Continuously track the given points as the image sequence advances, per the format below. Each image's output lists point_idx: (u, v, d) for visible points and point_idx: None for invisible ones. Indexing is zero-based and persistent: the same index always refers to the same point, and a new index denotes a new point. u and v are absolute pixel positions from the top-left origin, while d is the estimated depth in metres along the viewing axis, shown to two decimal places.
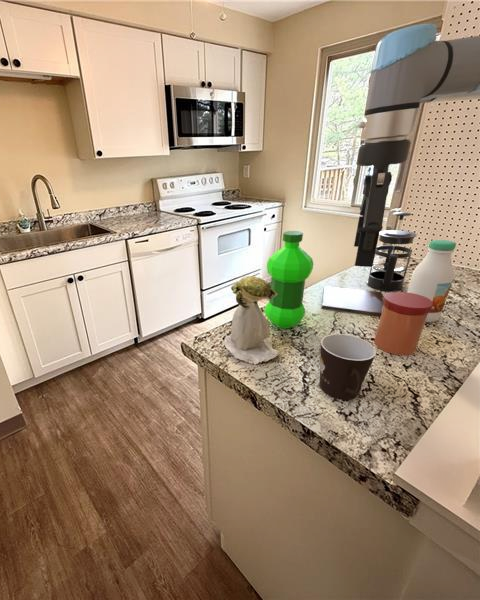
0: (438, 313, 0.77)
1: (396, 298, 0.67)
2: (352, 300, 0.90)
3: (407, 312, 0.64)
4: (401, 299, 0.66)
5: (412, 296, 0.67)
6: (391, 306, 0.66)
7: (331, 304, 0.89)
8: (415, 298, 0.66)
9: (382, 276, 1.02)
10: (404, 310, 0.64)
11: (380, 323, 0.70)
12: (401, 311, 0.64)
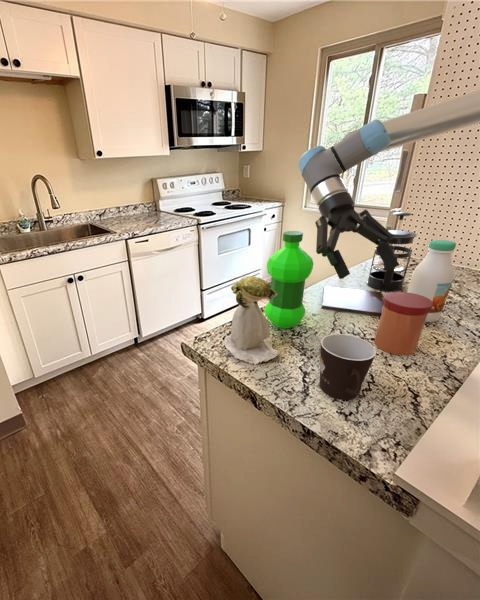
0: (438, 313, 0.77)
1: (396, 298, 0.67)
2: (352, 300, 0.90)
3: (407, 312, 0.64)
4: (401, 299, 0.66)
5: (412, 296, 0.67)
6: (391, 306, 0.66)
7: (331, 304, 0.89)
8: (415, 298, 0.66)
9: (382, 276, 1.02)
10: (404, 310, 0.64)
11: (380, 323, 0.70)
12: (401, 311, 0.64)
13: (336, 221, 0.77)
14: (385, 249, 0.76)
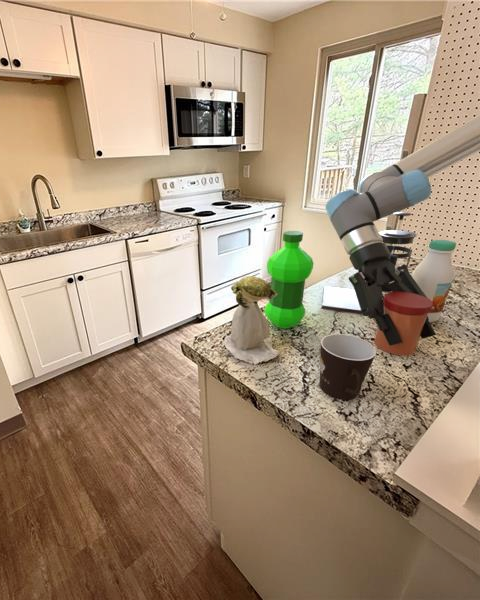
0: (438, 313, 0.77)
1: (396, 298, 0.67)
2: (352, 300, 0.90)
3: (407, 312, 0.64)
4: (401, 299, 0.66)
5: (412, 296, 0.67)
6: (391, 306, 0.66)
7: (331, 304, 0.89)
8: (415, 298, 0.66)
9: None
10: (404, 310, 0.64)
11: None
12: (401, 311, 0.64)
13: (370, 275, 0.71)
14: None
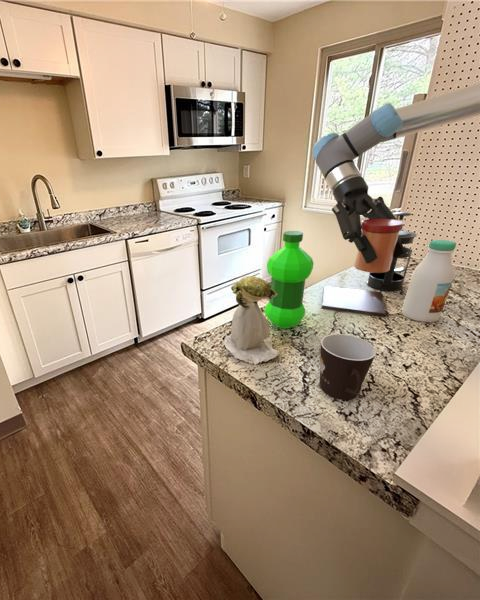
0: (438, 313, 0.77)
1: (372, 222, 0.77)
2: (352, 300, 0.90)
3: (381, 230, 0.73)
4: (376, 222, 0.76)
5: (386, 220, 0.77)
6: (367, 227, 0.75)
7: (331, 304, 0.89)
8: (388, 221, 0.76)
9: (382, 276, 1.02)
10: (378, 229, 0.73)
11: None
12: (376, 230, 0.74)
13: (350, 204, 0.80)
14: None
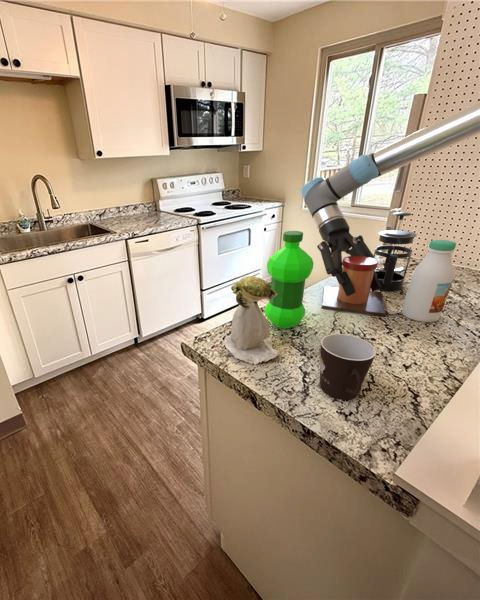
0: (438, 313, 0.77)
1: (351, 259, 0.87)
2: None
3: (358, 268, 0.84)
4: (355, 260, 0.87)
5: (364, 258, 0.87)
6: (347, 265, 0.86)
7: (331, 304, 0.89)
8: (366, 259, 0.87)
9: (382, 276, 1.02)
10: (356, 267, 0.84)
11: None
12: (354, 268, 0.85)
13: (333, 243, 0.91)
14: None
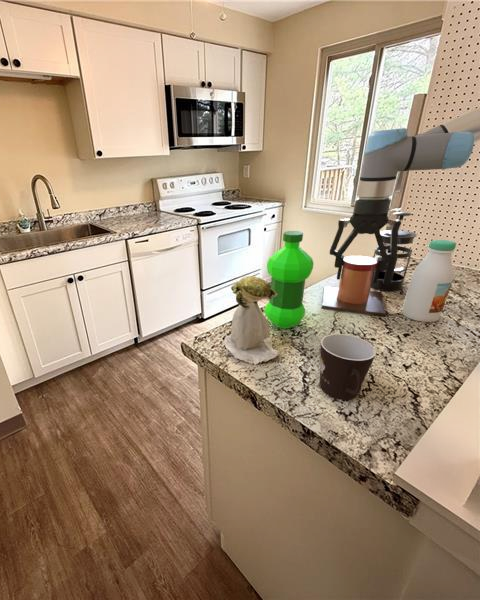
0: (438, 313, 0.77)
1: (351, 259, 0.87)
2: None
3: (358, 268, 0.84)
4: (355, 260, 0.87)
5: (364, 258, 0.87)
6: (347, 265, 0.86)
7: (331, 304, 0.89)
8: (366, 259, 0.87)
9: (382, 276, 1.02)
10: (356, 267, 0.84)
11: (340, 280, 0.90)
12: (354, 268, 0.85)
13: (353, 225, 0.83)
14: None
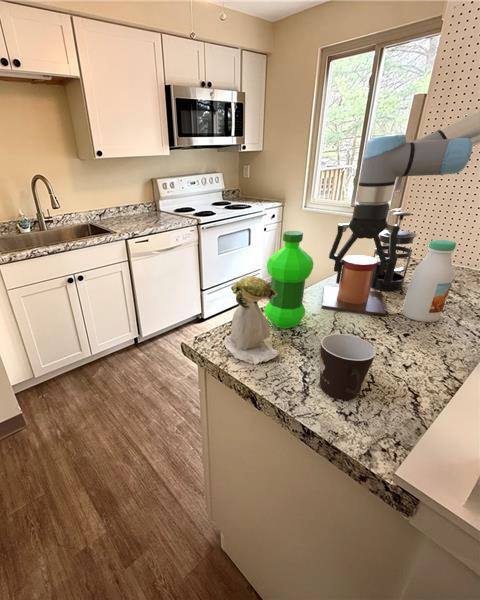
0: (438, 313, 0.77)
1: (365, 261, 0.85)
2: None
3: None
4: (364, 260, 0.85)
5: (350, 259, 0.87)
6: (376, 264, 0.84)
7: (331, 304, 0.89)
8: (353, 258, 0.88)
9: (382, 276, 1.02)
10: None
11: (340, 280, 0.90)
12: None
13: (352, 229, 0.84)
14: (375, 270, 0.85)
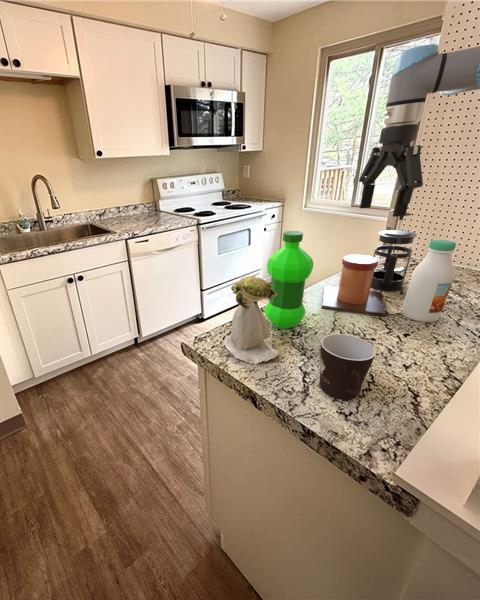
0: (438, 313, 0.77)
1: (363, 257, 0.87)
2: None
3: None
4: (361, 257, 0.87)
5: (365, 261, 0.84)
6: None
7: (331, 304, 0.89)
8: (360, 261, 0.85)
9: (382, 276, 1.02)
10: None
11: (340, 280, 0.90)
12: None
13: None
14: (371, 191, 0.90)
